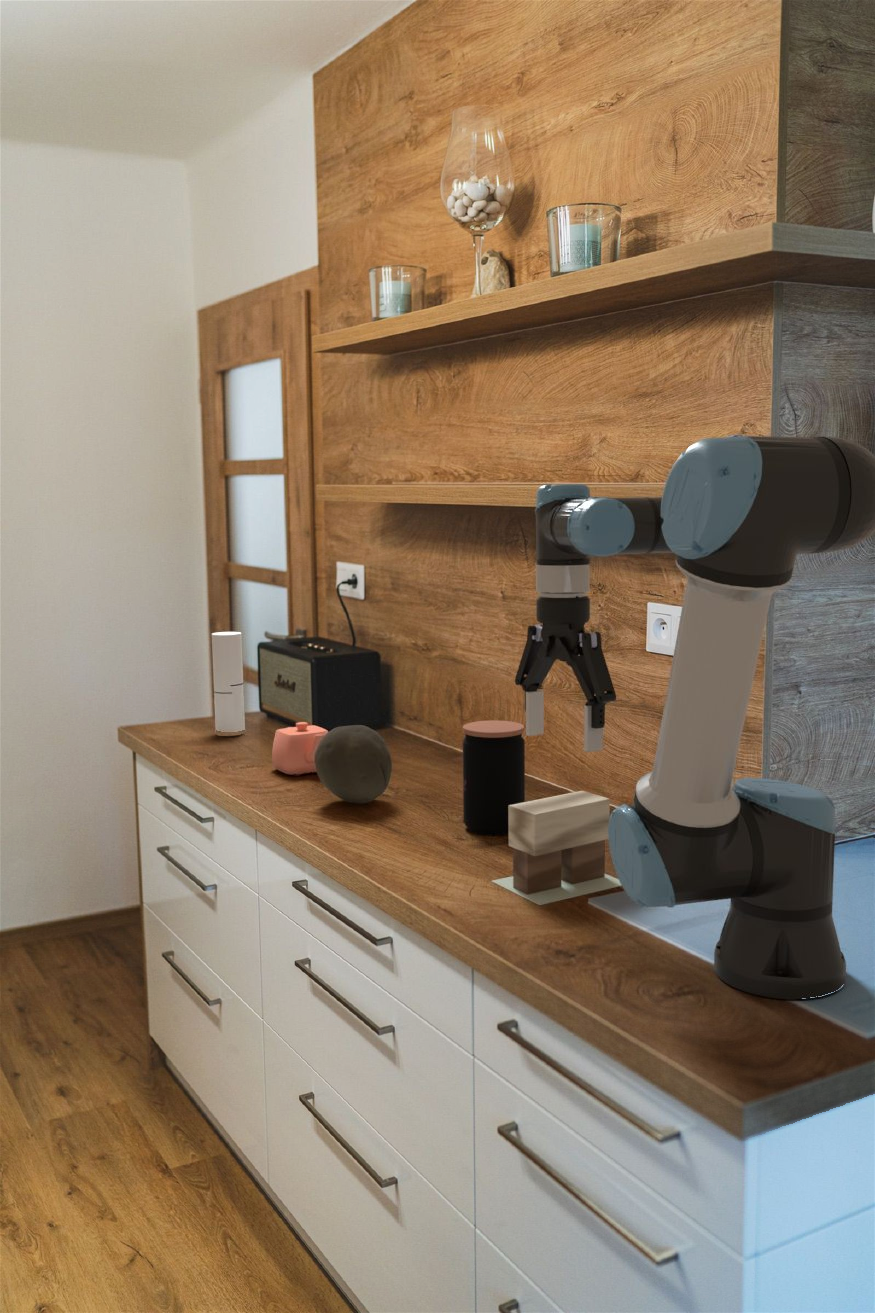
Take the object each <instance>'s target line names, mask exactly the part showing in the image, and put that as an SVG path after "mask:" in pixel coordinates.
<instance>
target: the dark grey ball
mask: <svg viewBox="0 0 875 1313" xmlns="http://www.w3.org/2000/svg"><path fill="white" fill-rule="evenodd" d="M392 764H393V762H392V756H391V753H390V750H389V748H388V746H387V744H386V741H385V740H384V738H383V737H382V736H381V735H380V734H379V732H377V731H376V730H374V729H372V728H370V727H369V726H366V725H362V724H354V725H352V724H351V725H343V726H337V727H334V728H333V729H331V730H330V731H328V733H327V734H326V735H325V736H324V737H323V738H322V739H321V741H320V742H319V745H318V748H317V750H316V752H315V766H316V770H317V772H316V775H317V776H318V778H319V780H320V782H321V783H322V784H323V786H324V787H325V788H326V789H327V790H328V791H330V793H332V794H333V795H334V796H336V797H338V798H339V799H340V800H343V801H345V802H347V803H348V802H349V803H351V804H360V805H363V804H364V805H365V804H367V803H370V802H373V801H374V800H375V799H378V798H379V797H380V796H382V794H384V793H385V791H386V790H387V788H388V786H389V784H390V779H391V774H392V769H393V765H392Z"/></svg>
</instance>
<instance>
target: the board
mask: <svg viewBox="0 0 875 1313" xmlns="http://www.w3.org/2000/svg"><path fill="white" fill-rule="evenodd" d="M491 882H492V883H493V884H496V885H498V886H500V887H502V888H504V889H506V890H508V891H510V892H512V893H514V894H516V895H518V896H519V897H522V898H524V899H526V900H528V901H530V902H532V903H534V904H536V905H538V906H542V905H547V904H551V903H555V902H559V901H563V900H566V899H572V898H575V897H580V896H584V895H588V894H589V895H590V894H593V893H597V892H602V891H605V890H610V889H614V888H618V887H622V885H621V883H620V881H619V879H618V877H614V876H612V875H609V874H607V873H605V877H602V878H598V879H594V880H589V881H585V882H581V883H576V884H570V883H568V882H566V881H564V880H562V879H561V887H559V888H555V889H550V890H546V891H541V892H537V893H533V894H528V895H527V894H525V893H523V892H521V891H519V890H517V889H515V888H513V875H512V876H508V877H502V878H497V879H493V880H491Z"/></svg>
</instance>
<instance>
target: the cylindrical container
mask: <svg viewBox="0 0 875 1313" xmlns="http://www.w3.org/2000/svg"><path fill="white" fill-rule="evenodd" d="M242 638H243V637H242V632H240V631H221V632H219V631H218V632H213V633H211V647H212V648H211V649H212V673H213V674H212V676H213V679H212V680H213V697H214V698H213V699H214V700H213V704H214V720H215V721H214V726H215V731H216V730H217V731H221V732H238V731H242V730H245V731H246V721H245V719H246V718H245V696H244V695H245V694H244V692H245V690H244V666H243V643H242V642H243V641H242V640H243V639H242Z"/></svg>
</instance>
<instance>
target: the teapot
mask: <svg viewBox="0 0 875 1313" xmlns="http://www.w3.org/2000/svg"><path fill="white" fill-rule="evenodd" d="M328 732H329V731H328V730H327V729H326V728H323V727H320V726H318V725H314V724H313V725H312V724H311V725H309V723H308V722H306V721H300V722H296V723H295V726H288V727H285V728H284V727H283V728H278V729H277V730H275V732H274V734H275V735H274V738H273V743H272V753H271V760H272V764H273V767H274V769H276V770H278V771H279V772H281V773H284V774H285V775H292V776H294V775H293V774H302V775H303V774H309V773H311V772H312V773H317V770H316V766H315V752H316V750H317V748H318V745H319V742H320V741H321V739H322V738H323V737H324V736H325V735H326V734H327V733H328Z"/></svg>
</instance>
